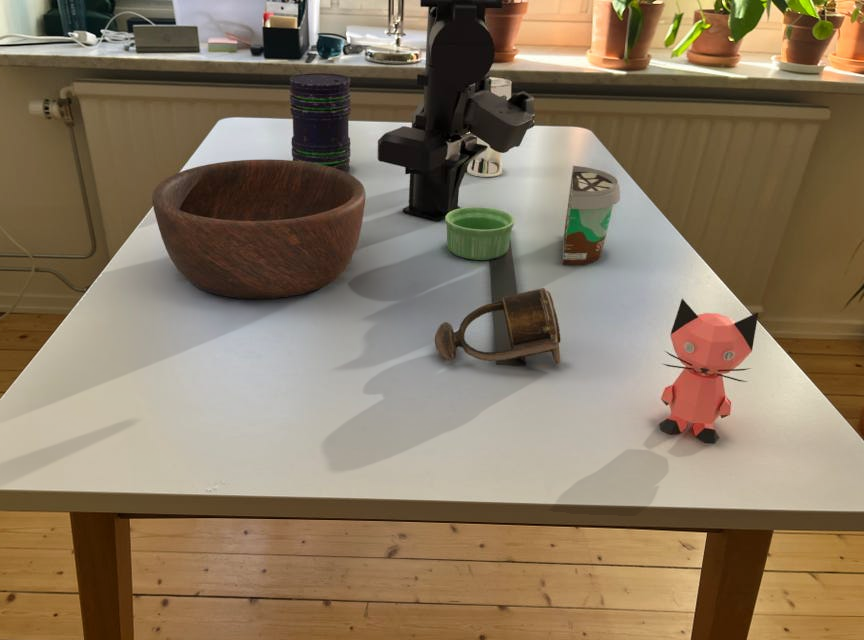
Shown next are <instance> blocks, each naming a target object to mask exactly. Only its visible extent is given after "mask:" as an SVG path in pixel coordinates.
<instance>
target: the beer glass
mask: <svg viewBox="0 0 864 640" xmlns="http://www.w3.org/2000/svg"><path fill="white" fill-rule="evenodd" d="M489 79H491V92H492V93H494V94H496V95H497V96H500V97H501V96H503V95H505V96H506V97H507V98H506V100H509V99H510V98H511V97H512V84H513V82H512V81H511V80H510V79H507V78H502V77H490V76H489ZM475 137H476V136H475ZM477 144H482V145H486V146H488V148H487V149H486V150H485V151H484V152H482V153H481V154H479V155H478V156H477V157H475V158H474V159H473V160H472V161H471V162H470V163H469V165H468V168H467V172H466V173H468V174H469V175H471V176H474V177H480V178H495V177H498V176H500V175H502V174H503V164H502V163H503V161H502V153H499V152H497V151H494V150H493V149H491V148H490V146H489V144H487V143H485V142H484V141H482V140H481V139H479V138H478V137H477Z"/></svg>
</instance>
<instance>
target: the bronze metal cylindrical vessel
mask: <svg viewBox="0 0 864 640" xmlns="http://www.w3.org/2000/svg"><path fill="white" fill-rule="evenodd" d="M555 308H556V307H555V305H554V301H553V297H552V295H551V293H550V291H548V289H546V288H545V287H541V288H540V287H539V288H537V289H533V290H529V291H524V292H519V293H517V294H515V295H510V296H505V297H503V298H502V301H499V302H494V303H492V302H490V303H487V304H484V305H481V306H480V307H478V308H475V310H473V311H471V312H470V313H468V314H467V315H466V316H465V317H464V318H463V319H462V321H461V323H460V325H459V327H458V329H457V331H454V328H453V326H452V324H451V323H449V322H448V321H444V322H443V323H441V324H440V325H439V326H438V327H437V330H436V332H435V336H434V345H435V348H436V350H437V352H438V354H439V355H440V356H441V357H442V358H443V359H445V360H446V361H454V360H455V359H456V358H457V349H458V348H462V349H463V351H464V352H465V353H466V354H467V355H468V356H471V357H473V358H474V359H477V360H481V361H488V362H494V361H495V362H496V361H497V360H506V359H511V358H516V359H517V358H522V357H526V358H527V357H531V356H536V355H541V354H544V353H549V352H550V353H551V355H552V359H553V361H554V363H555V364H557V365H559V364H560V363H561V362H562V361H561V353H560V351H561V350H560V343H561V340H562V339H561V333H560V332H561V329H560V324H559V319H558V315H557V312H556V309H555ZM499 310H503V311H504V314H505V318H506V323H507V330H508V335H509V340H510V346H511V349H509V350H504V351H500V352H495V351H481V350H479V349H475V348H474V347H472V346H471V345H470V344H468V343H467V341H466V340H465V339H466V338H465V337H466V335H465V334H466V330H467V329H468V327H469V326H470V324H471V323H472V322H474V321H475V320H476V319H478V318H480V317H481V316H484V315H485V314H489V313H493V312H494V311H499Z"/></svg>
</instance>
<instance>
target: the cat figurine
mask: <svg viewBox="0 0 864 640" xmlns="http://www.w3.org/2000/svg"><path fill="white" fill-rule="evenodd" d="M758 318H759V312H756V313H754V314H751V315H749V316H747V317H745V318H743V319H740V320H739V321H735V320H734V319H732V318H731V317H729V316H727V315H723V314H720V313H718V312H717V313H716V312H714V313H713V312H703V313H699V314H697V313H696V312H695V311H694V310H693V309H692V308H691V307H690V305H689V304H688V303H687V302H686V301H685V300H684V298H681V300H680V303H679V306H678V310H677V312H676V316H675V319H674V322H673V325H672V328H671V332H670V334H669V335H670V340H671V343H672V346H673V350H674V353H675V354H676V355H674V354H673V353H670V352H668V351H666V350H664V353H667V355H669V356H671V357H672V358H675V359H677V360H679V361H680V363H681V364H682V365H683V366H678V365H672V364H666V363H662V365H663V366H666V367H671V368H677V369H682V370H681V372H680V373H679V375H678V376H677V378H676V379H675V380H674V382H673V383H672V384H671V385H668V386H666V387H664V390H663V391H662V394H661V397H660V400H661V401H662V402H663V404H664V405H665V406H666V407H667V406H669V409H670V412H671V414H669V416H667V418H666V419H664V420H662V421H661V422H659V423H658V425H659V428H660V431H661V432H663V433H666V434H668V435H676V434H682V432H683V431H684V430H685V429H686V428H687V426H688V423H691V424H693V425H692V429H693V433H694V437H696V438H697V439H698V440H700V441H702V442H703V443H706V444H716V443H717V441H719V439H720V436H719V434H718V432H717V431H716V429H715V426H714V423H715V421H716V420H718V418H719V417H720V418H721V419H723V418H726V417H729V416H731V409H732V401H731V400H730V399H729V398H728V397H727V395H726V390H725V384H724V378H725V379H729V380H734V381H737V382H741V383H742V382H743V383H748V381H747V380H742V379H738V378H735V377H731V376H727V375H724V374H729V373H731V372H734V371H735V372H739V371H740V372H741V371H746V370H750V369H752V367H751V368H750V367H749V368H747V367H746V368H737V367H739V366H740V365H741V364H742V363H743V362H744V361H745V359H746V358H747V357H749V355H750V354H751V353H752V352H753V347H754V343H755V342H754V341H755V335H756V331H757V330H756V329H757V324H758Z"/></svg>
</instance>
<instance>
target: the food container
mask: <svg viewBox="0 0 864 640" xmlns="http://www.w3.org/2000/svg"><path fill="white" fill-rule="evenodd" d="M570 178H571V179H570V187H569V195H568V203H567V209H566V216H565V224H564V233H563V239H562V263H561V264H562V265H564V266H566V265H567V266H583V265H587V264H589V265H590V264H593V263H595V262H597V261H599V260H600V259H601V257H602V253H603V249H604V246H605V241H606V236H607V233H608V228H609V224H610V220H611V216H612V212H613V208H614V205H616V204H618V203H619V202H620V201H621V188H620V183H619V180H618V179H617V177H615V176H614V175H613V174H611V173H609V172H607V171H604V170H600V169H596V168H592V167H588V166H581V165H572V172H571V177H570Z"/></svg>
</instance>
